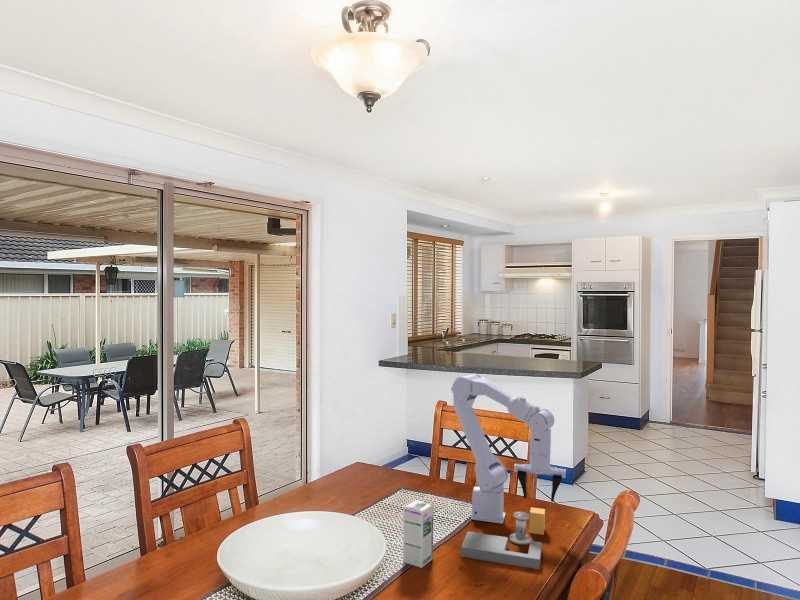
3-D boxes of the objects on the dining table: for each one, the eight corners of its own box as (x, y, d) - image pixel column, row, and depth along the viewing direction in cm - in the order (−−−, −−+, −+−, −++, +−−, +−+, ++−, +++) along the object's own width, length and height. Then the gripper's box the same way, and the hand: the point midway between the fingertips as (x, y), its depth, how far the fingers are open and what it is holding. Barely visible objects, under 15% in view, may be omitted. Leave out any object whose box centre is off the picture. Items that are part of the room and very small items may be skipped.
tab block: (529, 532, 163) (530, 512, 163) (530, 527, 167) (531, 507, 167) (543, 535, 162) (544, 514, 162) (544, 529, 166) (545, 509, 166)
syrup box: (422, 568, 141) (423, 511, 141) (402, 562, 144) (403, 505, 144) (433, 559, 146) (434, 503, 145) (413, 553, 149) (414, 498, 149)
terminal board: (460, 556, 148) (460, 547, 148) (467, 540, 157) (467, 531, 157) (539, 569, 142) (539, 559, 142) (541, 551, 151) (541, 542, 151)
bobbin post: (508, 543, 156) (509, 517, 156) (510, 534, 162) (511, 509, 162) (530, 546, 154) (531, 520, 154) (532, 537, 160) (532, 512, 160)
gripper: (513, 453, 162) (512, 500, 162) (566, 459, 158) (564, 507, 158) (515, 447, 169) (514, 492, 169) (566, 452, 165) (564, 498, 165)
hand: (538, 498), depth 164 cm, fingers open, 7 cm apart
